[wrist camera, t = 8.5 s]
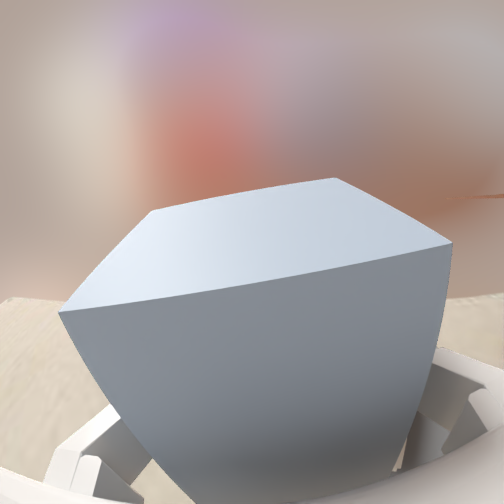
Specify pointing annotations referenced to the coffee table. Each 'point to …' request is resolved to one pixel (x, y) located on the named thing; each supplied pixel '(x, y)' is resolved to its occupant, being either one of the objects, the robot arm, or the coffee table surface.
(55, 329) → the coffee table surface
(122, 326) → the pillar
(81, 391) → the coffee table surface
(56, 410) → the coffee table surface
